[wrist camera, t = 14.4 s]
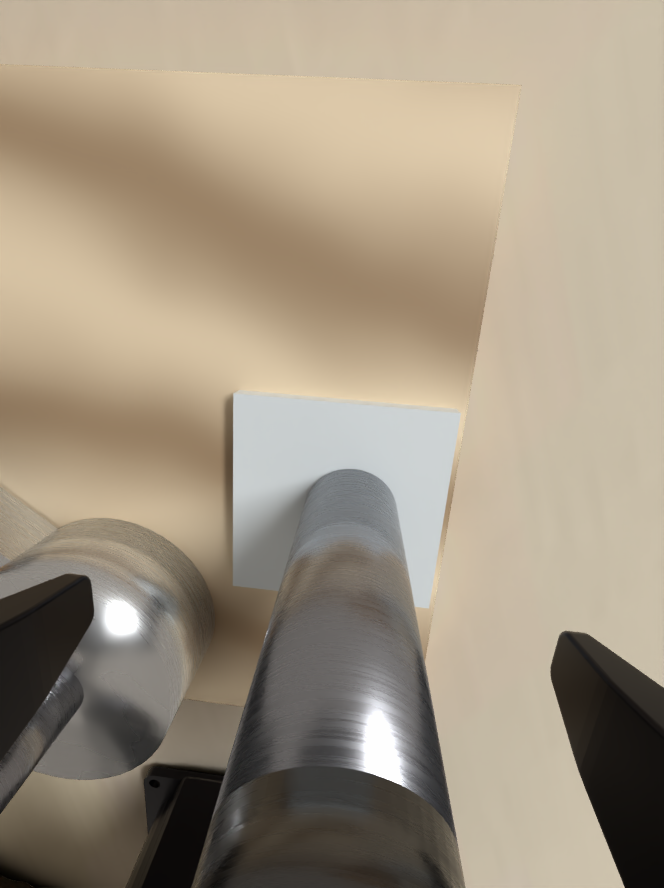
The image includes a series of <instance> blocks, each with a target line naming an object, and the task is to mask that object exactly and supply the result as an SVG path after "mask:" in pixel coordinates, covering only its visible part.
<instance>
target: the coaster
mask: <svg viewBox="0 0 664 888" xmlns="http://www.w3.org/2000/svg"><path fill="white" fill-rule="evenodd" d="M460 416H461V413H460V412H459V411H458V410H457V409H454V408H442V407H431V406H419V405H408V404H396V403H384V402H373V401H361V400H350V399H338V398H327V397H315V396H304V395H292V394H281V393H269V392H258V391H246V390H239V391H237V392H235V393H233V586H240V587H248V588H257V589H265V590H274V591H279V588H280V585H281V581H282V578H283V574H284V571H285V568H286V564H287V561H288V557H289V554H290V551H291V547H292V544H293V540H294V537H295V534H296V530H297V527H298V523H299V520H300V517H301V513H302V510H303V506H304V503H305V499H306V497H307V494H308V492H309V490H310V489H311V487H312V486H313V485H314V484H315V483H316V482H317V481H318V480H319V479H320V478H322V477H323V476H325V475H326V474H328V473H331V472H333V471H337V470H341V469H358V470H363V471H366V472H369V473H371V474H373V475H375V476H377V477H378V478H379V479H381V480H382V481H383V482H384V483H385V484H386V485H387V486H388V487H389V489H390V490H391V492H392V494H393V496H394V498H395V502H396V506H397V511H398V517H399V522H400V528H401V533H402V539H403V544H404V550H405V556H406V561H407V567H408V572H409V578H410V583H411V589H412V594H413V600H414V605H415V607H421V608H429V605H430V599H431V593H432V587H433V580H434V574H435V568H436V562H437V556H438V550H439V544H440V538H441V532H442V526H443V519H444V513H445V507H446V501H447V495H448V489H449V483H450V477H451V471H452V464H453V458H454V452H455V446H456V440H457V434H458V428H459V422H460Z"/></svg>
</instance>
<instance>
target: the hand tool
mask: <svg viewBox="0 0 664 888" xmlns="http://www.w3.org/2000/svg"><path fill="white" fill-rule="evenodd" d="M0 888H34V887H32V886H30V885H29V884H28V883H27V882H23V881H14V880H11V879H8V878H6V877H4V876H2V875H0Z"/></svg>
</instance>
